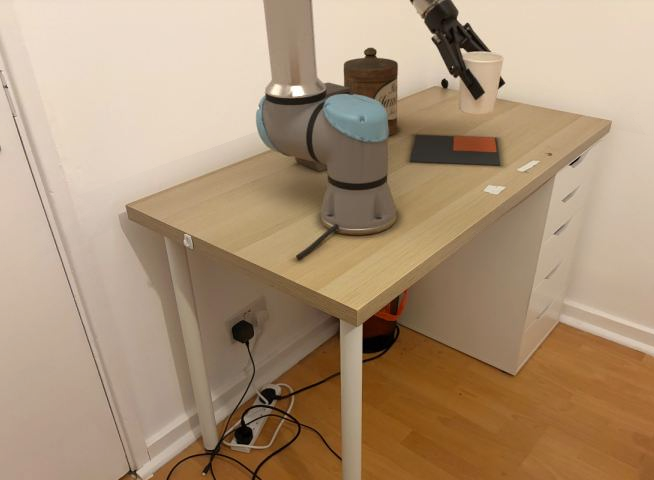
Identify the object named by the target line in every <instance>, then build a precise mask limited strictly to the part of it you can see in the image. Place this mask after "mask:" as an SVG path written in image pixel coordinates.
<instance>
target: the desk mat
mask: <svg viewBox="0 0 654 480" xmlns="http://www.w3.org/2000/svg"><path fill="white" fill-rule="evenodd" d="M413 141H414V142H413V146H412V149H411V150H412V151H411V155H410V158H409V159H410V160H409V162H410V163H423V164H448V165H469V166H472V165H473V166H493V167H501V158H500V153H499V152H500V151H499V146H498V140H497V137H492V136H491V137H489V136H465V135H464V136H463V135H437V134H436V135H435V134H415V137H414V140H413Z"/></svg>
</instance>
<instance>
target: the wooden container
mask: <svg viewBox="0 0 654 480" xmlns="http://www.w3.org/2000/svg"><path fill="white" fill-rule="evenodd" d="M363 54H364V57H359V58H353V59H349V60H346V61H345V62H344V63H343V86H345V87H349V88H351V90H352V93H353V94H356V95H362V96H366V97H369V98H372V99H374V100H376V101H378V102H379V103H381V104H382V105H383V106H384V108H385V110H386V111H387V115H388V127H389V135H388V137H390V136H392V135H394V134H395V133H396V132H397V129H398V76H399V64H398V63H399V62H397V61H395V60H394V59H390V58H385V57H377V49H376V48H374V47H367V48H365V49H364V50H363Z"/></svg>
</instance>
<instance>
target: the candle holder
mask: <svg viewBox="0 0 654 480" xmlns="http://www.w3.org/2000/svg"><path fill="white" fill-rule="evenodd" d="M462 56H463V61H464V63H465V66H466V70H467V69H468V68H469V70H470V71H471V73H472V74H473V75H474V77H475V78H476V79H477V80H478V82H479V83H480V85H481V87H482V88H483V90H484V91H485V93H484V94H483V95H482V96H481V97H480V98H478V99H477V100H475V99H474V98H473V96H472V95H471V93H470V92H469V90H468V89H467V87H466V86H465V84H464V83H463V81H462V80H461V78H460V77H459V80H458V81H459V85H458V109H459V111H460V112H462V113H465V114H468V115H477V116H481V115H488V114H492V113H493V112H494V111H495V108H496V103H497V97H498V93H499V92H498V91H499V89H498V86H499V81H500V76H502V69H503V63H504V60H505V57H504V56H503V54H500V53H497V52H492V51H491V52H463V53H462Z"/></svg>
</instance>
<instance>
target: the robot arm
mask: <svg viewBox="0 0 654 480" xmlns="http://www.w3.org/2000/svg"><path fill="white" fill-rule="evenodd" d="M409 1H410V4H411V5H412V6H413V8H414V9H415V11H416V14H418V15H419V17H420V18H421V19H422V20H423V22H424V23H423V24H425V26H426V27H427V29H428V31H429V32H430V33H431V34H432V35H433V36H432V37H430V40H431V41H432V43H433V44H434V45H435V47H436V48H437V50H438V53H439V54H440V57H441V59H442V61H443V63H444V64H445V67H446V69H447V71H448V73H449V75H451V76H452V77H453V78H454V79H457V78H458V77H459V79H460V78H461V80H462V81H463V83H464V84H465V86H466V87H467V89H468V90H469V92H470V93H471V95H472V96H473V98H474V99H475V100H477V99H478V98H480V97H481V96H482V95H483V94H484V93H485V91H484V90H483V88H482V87H481V85H480V83H479V82H478V80H477V79H476V78H475V77H474V75H473V74H472V73H471V71H470V70H469V68H468V69H467V70H466V66H465V63H464V61H463V56H462V54H463V53H462V50H461V49H463V50H464V51H465V53H467V52H492V51H491V49H490V48H489V47H488V46H487V45H486V44H485V43H484V40H482V39H481V38H480V37H479V35H478V34H477V33H476V32H475V31H474V29H473V27H472V25H471V23H469V22H466V23H465V24H463V25H462V23H461V22H460V21H459V20H458V17H459V9H458V8H457V7H456V5H455V3H454V2H453V0H409ZM262 3H263V14H264V20H265V22H264V23H265V28H266V29H265V31H266V39H267V48H268V49H267V50H268V57H269V66H270V75H271V80H270V81H269V82H268V84H267V85H266V86H265V88H264V94H265V95H263V97H261V99H260V101H259V102H258V107H259V108H258V109H257V110H256V111H255V125H256V130H257V133H258V135H259V138H260V139H261V141H262V143H263V144H264V145H265V146H266V147H267V148H268V149H270V150H271V151H273V152H276V153H279V154H281V155H283V156H285V157H291V158H292V157H293V158H295V157H297V158H301V159H305V160H310V161H314V162H318V163H322V164H326V165H327V169H326V171H327V184H326V185H327V186H326V189H325V192H324V196H323V199H322V203H321V206H320V221H321V224H322V225H323V226H324V227H325V228H327V230H326V231H325V232H324V233H323V234H322V235H321V236H319V237H318V238H317V239H316V240H315V241H314V242H313V243H311V244H310V245H308V246H307V247H306V248H305V249H303V250H302V251H300V252H299V253H297V254H296V255H295V258H296V259H297V260H300V259H302V258H303V257H305V256H307V254H309V253H310V252H312V251H313V250H314V249H315V248H316V247H318V246H319V245H320V244H321V243H322V242H323V241H324V240H326V239H327V238H328V237H329V236H330V235H332V234H333V233H334V232H335V233H337V234H342V235H348V236H367V235H368V236H369V235H373V234H378V233H381V232H383V231H386V230H387V229H389V228H391V227H392V226H394V224H395V223H396V220H397V208H396V204H395V200H394V198H393V194H392V191H391V188H390V185H389V182H388V173H389V172H388V166H389V136H388V135H389V127H388V115H387V111H386V110H385V108H384V106H383V105H382V104H381V103H379V102H378V101H376V100H374V99H372V98H369V97H366V96H362V95H356V94H353V95H349V94H338V95H333V96H331V97H329V98H327V95H326V85H325V84H324V83H325V82H323V81H322V80H321V79H320V78H319V77H318V66H317V49H316V36H315V35H316V34H315V22H314V5H313V0H262ZM505 84H506V81H505V80H504V79H503V77H502V75H500V81H499V86H498V90H499V89H501V88H502V87H503V86H504V85H505Z"/></svg>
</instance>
